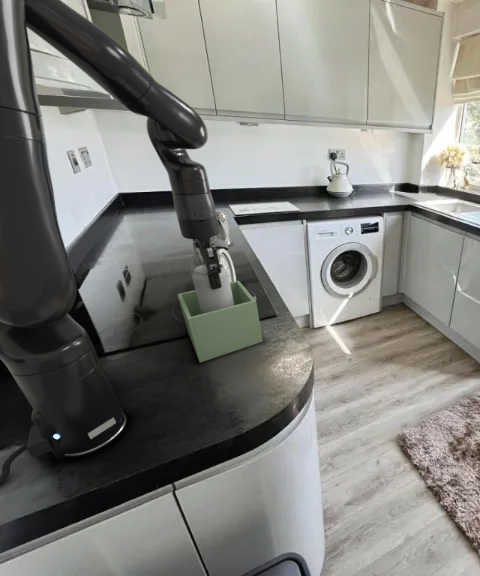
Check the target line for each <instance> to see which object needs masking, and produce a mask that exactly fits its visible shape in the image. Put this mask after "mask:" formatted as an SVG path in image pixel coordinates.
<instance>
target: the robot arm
mask: <svg viewBox="0 0 480 576" xmlns="http://www.w3.org/2000/svg"><path fill="white" fill-rule="evenodd" d="M28 30H30V31H31V32H32V33H34V34H35V35H37V36H38V37H39V38H41V40H42V41H44V42H46V43H47V44H48V45H50V46H51V47H52V48H53V49H55V50H56V51H57V52H58V53H60V54H61V55H62V56H63V57H65V58H67V59H68V60H69V62H71V63H72V64H74V65H75V66H76V67H77V68H78V69H79V70H81V71H82V72H83V73H85V74H86V75H87V76H88V77H89V78H90V79H92V80H93V81H94V82H95V83H96V84H97V85H98V86H99V87H101V88H102V89H103V90H104V91H105V92H106V93H108V94H109V95H110V96H111V97H112V98H113V99H114V100H116V101H117V102H118V103H119V104H120V105H121V106H122V107H124V108H125V109H127V111H129V112H131V113H133V114H135V115H138V116H143V117H146V132H147V136H148V138H149V141H150V143H151V145H152V147H153V148H154V150H155V153H156V154H157V156H158V158H159V160H160V162H161V164H162V166H163V167H164V169H165V171H166V173H167V176H168V181H169V185H170V187H171V193H172V198H173V199H172V200H173V206H174V210H175V214H176V217H177V222H178V225H179V230H180V234H181V237H182V238H185V239H188V240H192V247H193V250H194V253H195V254H196V257H197V258H198V261H199V262H201V263H200V264H201V265H203V266H205V269H206V273H207V275H208V278H209V283H210V287H211V289H213V290H214V289H218V288H221V287H222V285H221V281H220V276H219V273H221V269H220V264H219V260H218V255H217V249H216V246H215V244H214V243H213V242H212V240H210V239H212V237H216V235H218V234H219V232H220V230H219V225H218V220H217V215H216V211H217V210H216V206H215V205H216V204H215V200H214V198H213V195H212V192H211V188H210V187H211V186H210V182H209V177H208V172H207V170H206V167H205V166H204V164H202V163H200V162H197V161H195V160H193V159H192V158H191V157H190V155H189V153H188V151H187V150H191V151H192V150H198V149H201V148H203V147H204V146H205V145H206V143H207V142H208V139H209V133H208V128H207V126H206V124H205V121H204V120H203V118H202V117H201V115H199V113H198V112H197V111H196V110H195V109H194V108H193V107H192V106H190V105H189V104H188V103H187V102H185V101H184V100H183V99H181V98H180V97H179V96H177V95H176V94H174V92H172V91H171V90H169V89H168V88H166V87H165V86H164V85H162V84H161V83H159V82H158V81H157V80H156V78H154V76H152V75H151V74H150V73H149V71H148V70H147V69H146V68H145V67H144V66H143V65H142V64H141V63H140V62H139V61H138V60H137V59H136V58H135V57H134V56H133V54H132V53H130V51H129V50H127V49H126V48H125V46H123V45H122V44H121V43H120V42H119V41H117V40H116V39H115V38H114V37H113V36H111V35H110V34H108V33H107V32H106V31H105V30H104V29H102V28H101V27H99V25H96V24H95V23H94V22H92V21H91V20H89V19H88V18H87V17H85V16H84V15H82V14H81V13H80V12H78V11H76V10H74V8H73V7H70V6H69V5H68V4H66V3H65V2H64V1H62V0H0V360H1V361H2V362H3V364H4V365H5V367H6V368H7V369H8V371H9V373H10V374H11V376H12V377H13V379H14V381H15V382H16V384H17V386H18V387H19V389H20V390H21V392H22V394H23V395H24V397H25V398H26V400H27V402H28V403H29V405H30V406H31V409H32V413H31V417H30V418H31V421H32V423H33V424H34V425H32V426H31V427H30V431H29V435H28V439H27V441H26V443H24V444H23V445H22V446H20V447H19V448H18V449H16V450H15V451H14V452H13V453H11V454H10V455H9V456H8V457H7V458H6V460H5V461H4V462H3V464H2V467H1V475H0V485H1V484H3V483H4V482H5V481H6V480H7V479H8V478H9V477H10V474H11V465H12V463H13V462H14V461H15V459H17V458H18V457H19V456H20V455H21V454H22V453H24V452H26V451H28V452H29V454H30V456H31V457H32V458H34V459H35V458H37V457H39V456H42V455H45V454H47V453H50V452H51V453H52V454H53V456H54V457H55V459H56V461H59V460H63V459H65V458H68V459H74V458H81V457H86V456H88V455H91V454H94V453H96V452H98V451H100V450H102V449H104V448H105V447H107V446H109V445H110V444H111V443H113V442H114V441H115V440H116V439H118V438H119V437H120V436H121V434H122V433H123V432H124V431H125V429H126V427H127V424H128V419H127V416H126V414H125V413H124V410H123V408H122V407H121V405H120V403H119V401H118V398H117V396H116V394H115V391H114V389H113V387H112V385H111V382H110V380H109V378H108V376H107V374H106V372H105V369H104V367H103V365H102V362H101V360H100V359H99V356H98V354H97V351H96V349H95V347H94V345H93V343H92V341H91V338H90V336H89V334H88V332H87V330H86V329H85V328H84V327H83V326H82V325H80V324H79V323H78V322H77V321H76V320H75V319H74V318H72V316H71V315H70V314H69V312H70V311H71V310H72V308H73V306H74V304H75V301H76V297H77V283H76V278H75V275H74V272H73V268H72V265H71V261H70V258H69V256H68V252H67V249H66V246H65V243H64V242H65V241H64V239H63V236H62V233H61V232H62V231H61V228H60V224H59V219H58V214H57V207H56V201H55V193H54V187H53V186H54V185H53V181H52V174H51V170H50V169H51V168H50V162H49V153H48V145H47V139H46V133H45V126H44V121H43V115H42V110H41V105H40V100H39V96H38V90H37V83H36V76H35V70H34V64H33V57H32V56H33V55H32V49H31V45H30V39H29V33H28ZM211 264H214V265H215V268H213V269H210V265H211Z"/></svg>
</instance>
